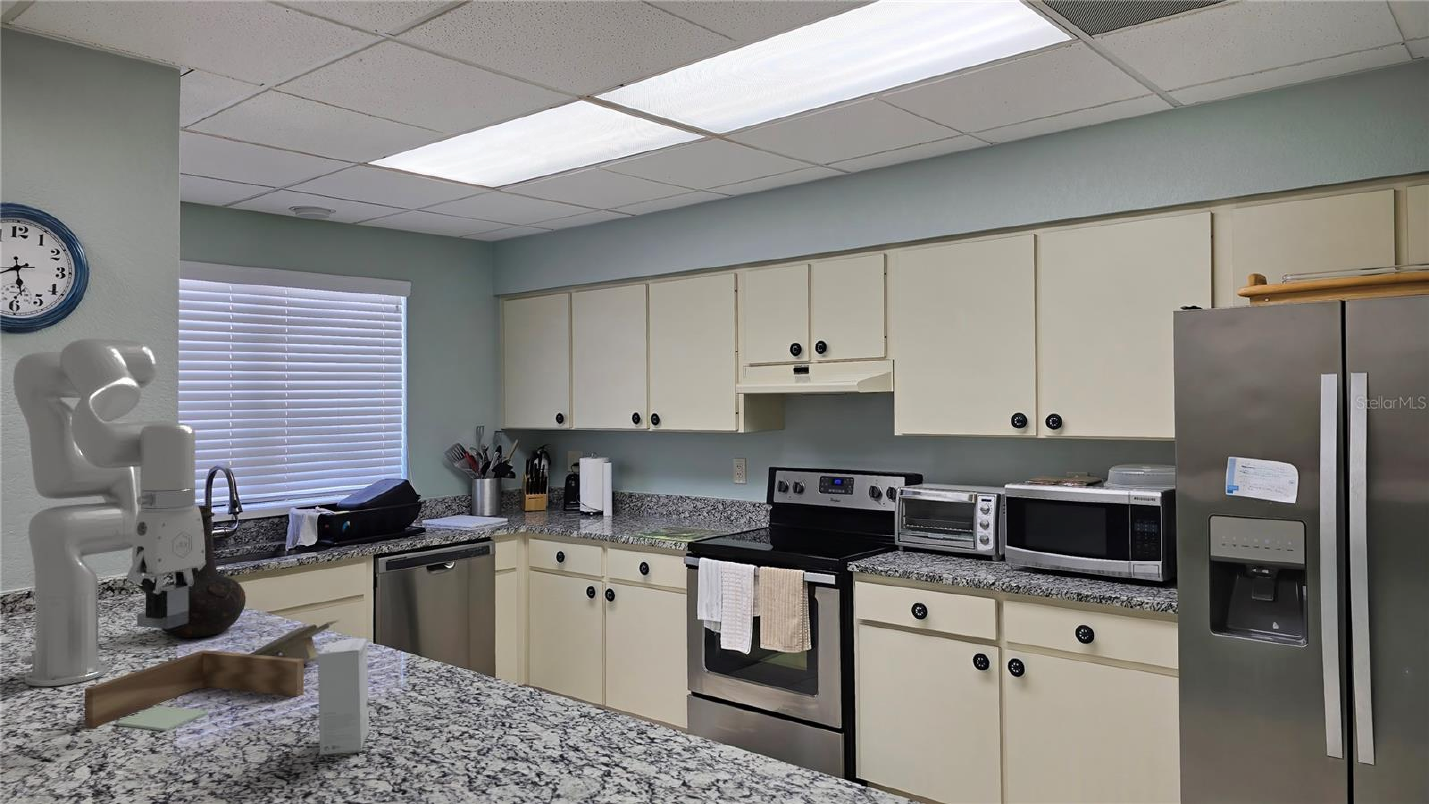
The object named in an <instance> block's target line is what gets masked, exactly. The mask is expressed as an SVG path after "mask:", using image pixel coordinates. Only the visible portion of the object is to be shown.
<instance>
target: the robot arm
mask: <svg viewBox="0 0 1429 804" xmlns="http://www.w3.org/2000/svg"><path fill="white" fill-rule="evenodd" d="M157 363H158V362H157V359H156V356H155V354H154V352H153V351H152V349H151V348H150V347H149V346H148V345H146V343H144V342H140V341H137V340H125V339H101V338H85V339H84V338H83V339H77V340H74V341H72V342H70V343H69V344H66V346H65V347H64V348H63V349H62V350H61V351H44V352H43V351H42V352H41V351H40V352H35V353H29V354H27V355H24V356H23V357H21V358H19V360H18V361H17V362H16V364H15V366H14V370H13V389H14V394H15V398H16V401H17V404H18V406H19V409H20V410H21V412H22V415H23V416H24V419H25V421H26V424H27V428H28V433H29V443H30V444H29V446H30V454H31V462H32V463H31V465H32V473H33V474H32V475H33V481H34V487H35V489H36V492H37V493H38V494H39V495H40V496H41V497H43V498H46V499H51V500H52V499H53V500H58V499H59V500H60V499H61V500H62V499H63V500H67V499H78V498H79V499H80V498H92V497H94V498H95V497H102V499H103V500H104V502H97V503H96V502H94V503H80V504H79V503H78V504H69V505H60V506H59V505H58V506H53V507H48V508H45V509H43V510H40V511H39V512H37V513H36V514H35V515H34V516H33V517H32V518H31V519H30V520H29V523H28V540H29V544H30V549H31V555H32V559H33V567H34V569H33V570H34V594H35V595H34V596H35V597H34V599H35V600H34V603H35V604H34V606H35V607H34V609H35V611H34V612H35V613H34V616H35V617H34V618H35V619H34V620H35V622H34V624H35V625H34V626H35V627H34V630H35V634H34V635H35V636H34V637H35V638H34V640H35V642H34V643H35V644H34V646H35V650H34V651H33V652H32V653H31V655H27V656H25V658H24V659H23V661H24V664H28V665H32V666H31V667H32V669H31V671H30V672H28V673H26V675H25V676H24V683H25V684H26V685H28V686H33V687H55V686H56V687H58V686H64V685H65V686H67V685H72V684H78V683H81V682H85V681H86V682H87V681H90V680H93V679H96V678H99V677H101V676H103V675H105V674H107V673H108V671H109V663H107V662H105V661H102V660H100V659H99V655H100V654H99V652H100V651H99V578H98V576H97V573H96V572H95V570H94V569H92V567H90V566H89V564H88V563H86V561H84V559H83V557H85V556H92V555H99V554H105V553H114V552H120V551H127V550H129V549H131V550H132V553H131V555H132V556H131V560H132V562H131V563H132V565H131V568H129V570H128V573H127V575H126V580H127V581H129V582H131V583H133V584H135V585H136V586H137V587H138V588H139V589H140V590H141V593H143V594H145V612H146V617H147V618H154V619H162V618H164V617H165V593H161V591H162V587H163V583H164V578H165V575H169V574H172V577H173V578H172V579H173V581H174V584H175V585H184V586H188V611H189V610H190V587H189V586H192V585H193V583H194V581H193V579H194V578H195V577H196V575H197V574H198V571H200V570H201V568H202V567H203V566H204V565H205V564H206V560H205V540H204V529H203V522H202V517H201V512H200V509H199V507H198V506H199V505H196V431H195V428H194V427H193V426H192V425H190V424H188V423H184V422H173V421H169V420H119V421H118V420H116V419H119V418H121V417H124V416H126V415H127V414H129V413H130V412H131V411H133V409H135V408H136V407H137V406H138V404H139V403H140V401H141V398H142V389H143V388H145V387H147V386H149V384H151V383H152V382H153V380H154V379H155V376H156V375H157V369H158V364H157ZM62 398H63V399H64V398H68V399H69V398H70V399H71V398H72V399H74V398H75V399H79V400H78V402H77V404H76V405H75V407H74V408H73V407H72V406H70V404H68V403H66V402H65V401H64V400H63V399H62ZM114 420H115V421H114ZM136 467H137V468H139V467H140V475H139V476H140V482H139V483H140V487H139V488H140V494H139V488H138V477H137V471H136ZM181 572H183V573H181ZM153 577H154V581H153Z"/></svg>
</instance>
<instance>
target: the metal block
mask: <svg viewBox="0 0 1429 804" xmlns="http://www.w3.org/2000/svg"><path fill="white" fill-rule="evenodd" d="M165 586H166V585H165ZM165 586H162V591H161V593H165V617H164V618H162V619H154V618H147V617H146V611H143V612H138V613H137V614H136V619H137V620H136V624H137V625H136V626H137V627H142V628H150V629H151V628H153V629H161V628H163V629H169V628H172V627H176V626H179V625H183V624H186V623H188V586H184V585H170V586H166V587H165Z"/></svg>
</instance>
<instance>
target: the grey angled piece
mask: <svg viewBox="0 0 1429 804" xmlns="http://www.w3.org/2000/svg"><path fill="white" fill-rule="evenodd" d="M338 622H340V619H338V620H334V621H328V622H325V623H324V624H322V625H320V626H317V625H316V624H311V625H307V626H302V627H301V626H300V627H297V628H296V629H294V630H291V631H290V632H287V633H286V634H284V635H283V636H282V635H281V636H280V637H278V638H276V639H273V641H270V642H269V643H267V644H265V645H263V646H261V647H259V648H257V649H255V650H254V651H252V652H250V653H249V654H253V655H264V656H274V657H277V656H278V655H280V654H281V655H282V657H285V658H296V659H304V665H306V664H308V663H310V662H311V661H312V662H313V661H314V660H316V659H318V654H319V653H318V651H317V648H316V646H315V643H314V639H313V637H314V636H316V635H318V634H320V633H322V632H323V631H326V630H327V629H329V628H330V626H332V625H334V624H336V623H338Z"/></svg>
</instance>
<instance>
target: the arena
mask: <svg viewBox="0 0 1429 804" xmlns="http://www.w3.org/2000/svg"><path fill="white" fill-rule="evenodd" d="M304 665H305V664H304V659H296V658H285V657H284V656H264V655H253V654H250V653H242V652H240V653H239V652H229V651H220V650H219V651H218V650H206V649H202V650H198V651H196V652H192V653H190V654H187V655H183V656H180V657H177V658H174V659H171V660H168V661H166V662H165V661H164V662H162V663H159V664H156V665H153V666H150V667H146V668H144V669H141V670H138V671H135V672H132V673H128V674H126V675H123V676H120V677H116V678H113V679H110V680H108V681H107V680H106V681H104V682H101V683H97V684H95V685H92V686H88V687H86V688H84V728H91V729H94V728H96V727H100V726H101V725H105V724H107V723H109V722H112V721H114V720H118V719H121V718H123V717H125V716H128V715H131V714H134V713H136V712H140V711H141V710H144V709H147V708H150V707H152V706H156V705H157V704H161V703H164V702H165V701H169V700H171V699H174V698H177V697H179V696H181V695H185V694H187V693H190V692H192V691H195V690H198V689H200V688H203V687H204V688H213V689H224V690H233V691H242V692H250V693H251V692H252V693H261V694H270V695H281V696H290V697H291V696H292V697H299V696H301V695H304V691H305V690H304V688H305V687H304V683H305V682H304V681H305V680H304V678H305V677H304V674H305V673H304V671H305V668H304Z"/></svg>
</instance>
